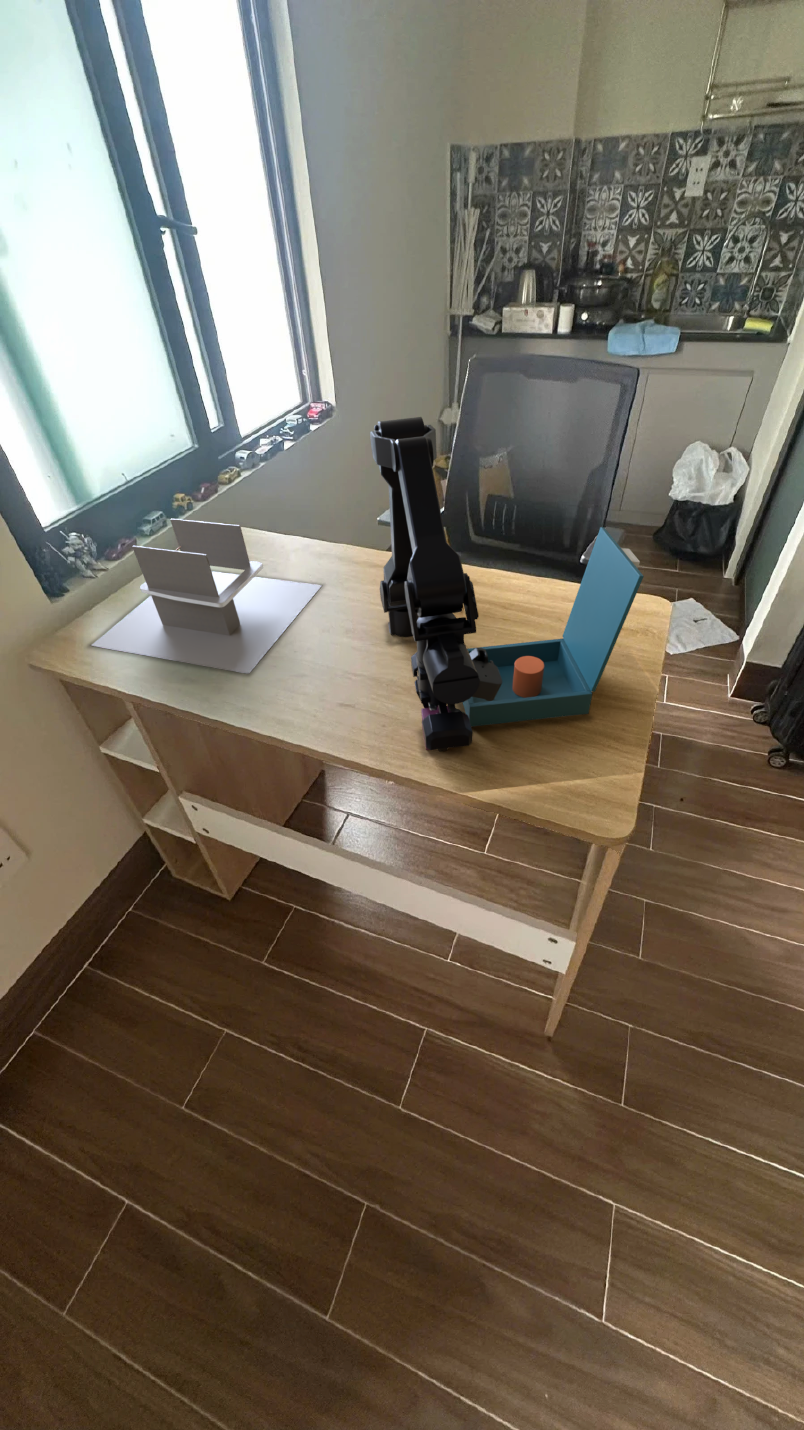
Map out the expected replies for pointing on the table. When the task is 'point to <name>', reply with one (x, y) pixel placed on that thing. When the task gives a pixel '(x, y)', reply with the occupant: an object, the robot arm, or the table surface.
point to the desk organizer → (207, 602)
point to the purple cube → (425, 713)
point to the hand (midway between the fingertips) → (440, 738)
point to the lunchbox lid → (601, 606)
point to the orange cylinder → (528, 676)
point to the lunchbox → (558, 692)
